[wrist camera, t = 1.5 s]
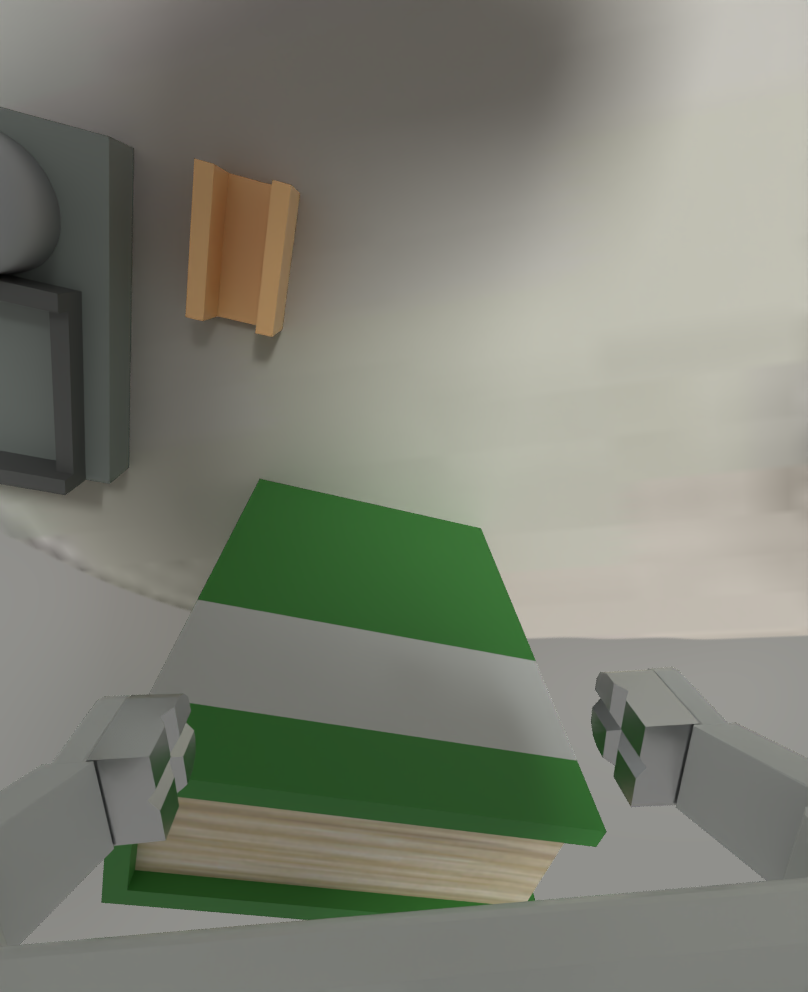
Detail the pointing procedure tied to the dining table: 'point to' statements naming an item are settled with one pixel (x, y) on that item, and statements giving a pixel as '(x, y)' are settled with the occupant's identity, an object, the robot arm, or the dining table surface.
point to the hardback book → (357, 726)
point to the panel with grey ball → (63, 304)
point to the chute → (240, 248)
